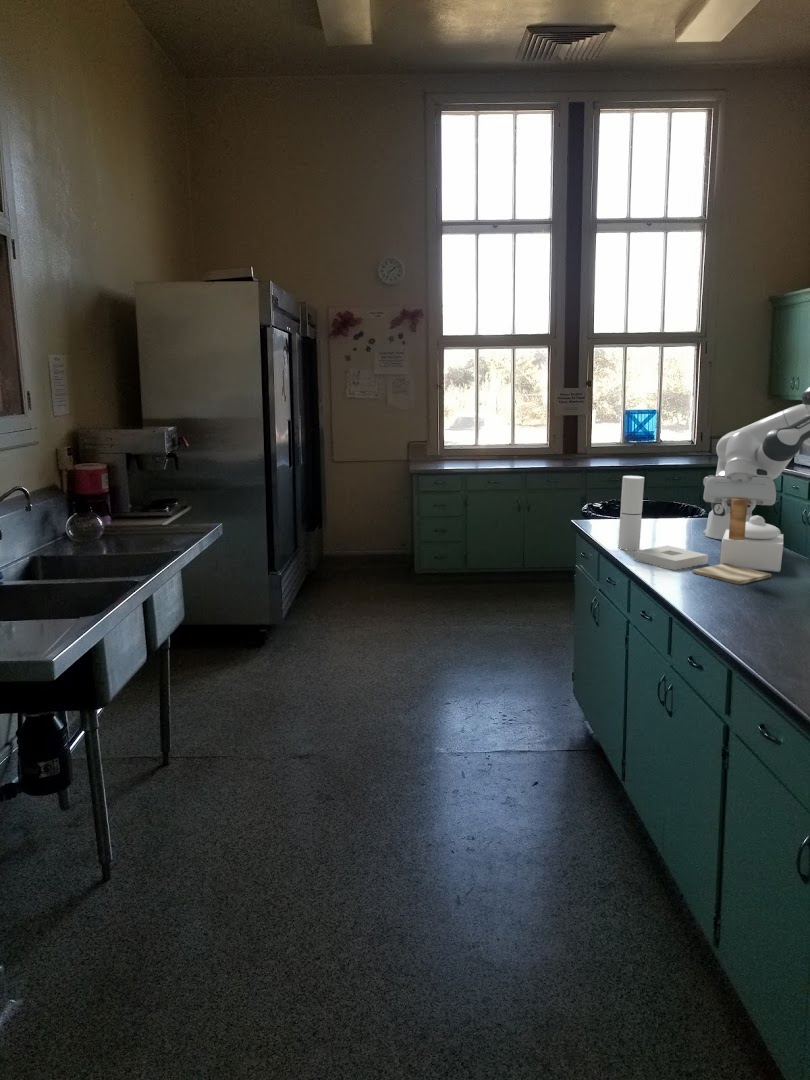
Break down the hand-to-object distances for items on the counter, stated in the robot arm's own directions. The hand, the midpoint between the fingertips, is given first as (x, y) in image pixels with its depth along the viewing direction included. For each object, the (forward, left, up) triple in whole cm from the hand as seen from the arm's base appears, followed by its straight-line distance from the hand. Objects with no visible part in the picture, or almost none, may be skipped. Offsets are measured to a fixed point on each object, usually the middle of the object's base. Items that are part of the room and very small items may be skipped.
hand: (738, 513), depth 236 cm
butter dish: (-20, -7, -20) cm, 29 cm away
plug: (0, 0, -8) cm, 8 cm away
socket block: (+2, -22, -19) cm, 29 cm away
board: (0, -1, -19) cm, 19 cm away
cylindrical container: (-2, -43, -19) cm, 47 cm away
